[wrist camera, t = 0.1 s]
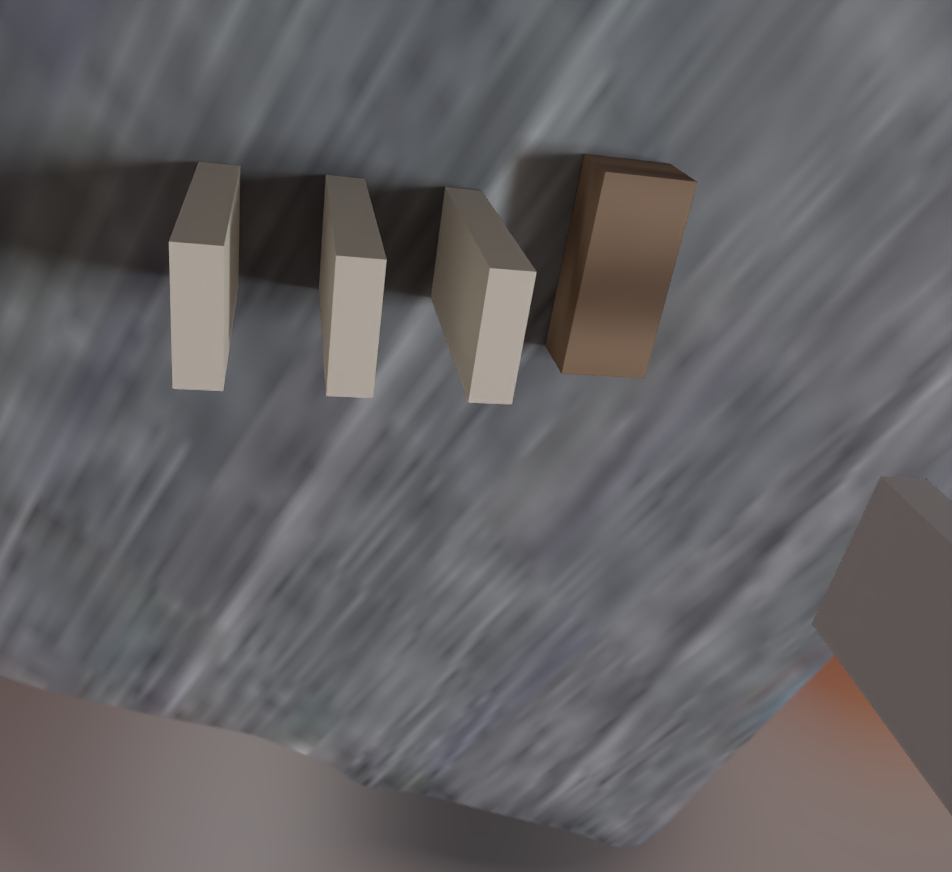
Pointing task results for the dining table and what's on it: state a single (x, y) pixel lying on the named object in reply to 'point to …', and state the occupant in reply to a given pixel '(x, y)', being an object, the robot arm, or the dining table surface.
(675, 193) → the end block
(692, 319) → the dining table surface
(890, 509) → the robot arm
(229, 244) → the domino
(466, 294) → the domino
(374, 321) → the domino
